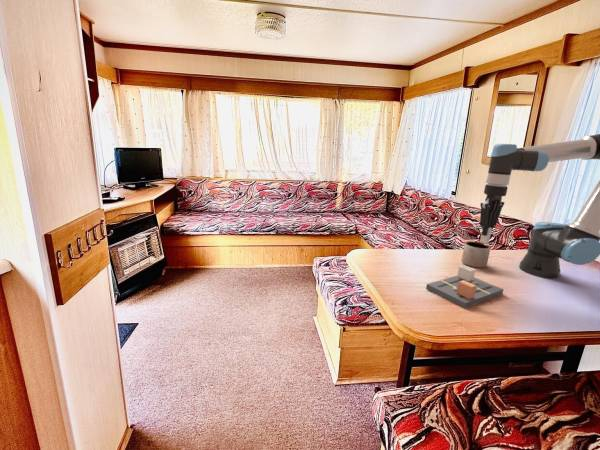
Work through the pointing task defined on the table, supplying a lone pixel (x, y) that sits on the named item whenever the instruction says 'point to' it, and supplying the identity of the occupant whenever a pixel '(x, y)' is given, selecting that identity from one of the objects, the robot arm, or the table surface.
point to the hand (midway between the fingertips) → (484, 242)
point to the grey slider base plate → (449, 289)
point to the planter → (475, 254)
